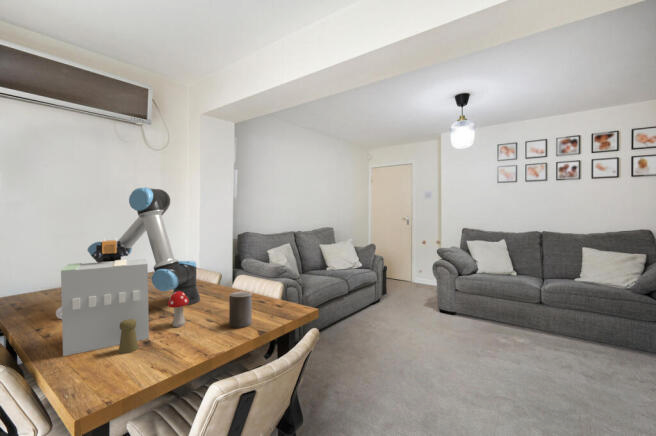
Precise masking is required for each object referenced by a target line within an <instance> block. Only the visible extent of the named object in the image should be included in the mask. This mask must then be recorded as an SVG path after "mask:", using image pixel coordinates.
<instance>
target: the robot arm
mask: <svg viewBox="0 0 656 436" xmlns="http://www.w3.org/2000/svg"><path fill="white" fill-rule="evenodd" d="M128 203H129V206H130V207H131V208H132V209H133V210H134V211H136V212H137V216H138V217H137V218H136V220H134V222H133V223H132V224H131V225H130V227H129V228H127V230H125V232H124V233H123V235H122V236H121V237H120V238H119V239H118V236H115V237H114V240H116V248H117V253H108V254H102V241H107V237H106V236H104V237H102V238H103V240H102V241H96V242H93V243H91V244H90V245H89V246H88V248H87V252H88V253H89V255H90V256H91V258H92V259H93V260H95V263H98V262H111V261H115V260H122V257H128V256H129V255H130V254H131V253H132V250H133V248H132V247H133V246H134V245H135V244H136V242H137V241H139V239H140V238H141V237H142V236H143V235H144V233H146V234H147V238H148V241H149V245H150V247H151V251H152V255H153V259H154V262H155V264H154V266H153V271H154V272H153V273H152V276H151V283H152V285H153V286H154V288H155V289H156V290H158V291H160V292H169V291H172V293H171V296H172V295H173V294H174V293H175V292H177V291H181V292H183V293H185V295H186V296H187V298H188V299H189V303H188V304H187V305H186V306H188V305H194V304H196V303H198V302H200V301H201V295H200V293H199V290H198V288H197V268H198V267H197V262H196V261H195V260H179V259H175V257H174V254H173V250H172V247H171V243H170V240H169V236H168V233H167V229H166V227H165V223H164V220H163V219H164V218H163V215H164V214H165V213H166V212H167V211H168V209H169V206H170V205H171V197H170V195H169V193H167V192H166V191H165V190H163V189H160V188H151V187H138V188H134V190H132V191H131V193H130V195H129V197H128Z"/></svg>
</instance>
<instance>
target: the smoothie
mask: <svg viewBox="0 0 656 436" xmlns="http://www.w3.org/2000/svg"><path fill="white" fill-rule="evenodd" d="M55 316H56V317H57V318H58V319H59V320H62V305H61V306H60V307H58V308H57V309H56V311H55Z"/></svg>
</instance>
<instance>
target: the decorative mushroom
mask: <svg viewBox="0 0 656 436" xmlns="http://www.w3.org/2000/svg"><path fill="white" fill-rule="evenodd" d="M188 303H189V299H188V298H187V296H186V295H185V293H183V292H181V291H177V292H175V293H174V294H173V295H172V294H171V296H170V298H169V299H168V302H167V306H168V307H169V308H174V309H173V319H172V322H171V323H172V327H174V328H181V327H184V326H185V325H186V319H185V315H184V307H186V306H188V305H187V304H188Z"/></svg>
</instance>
